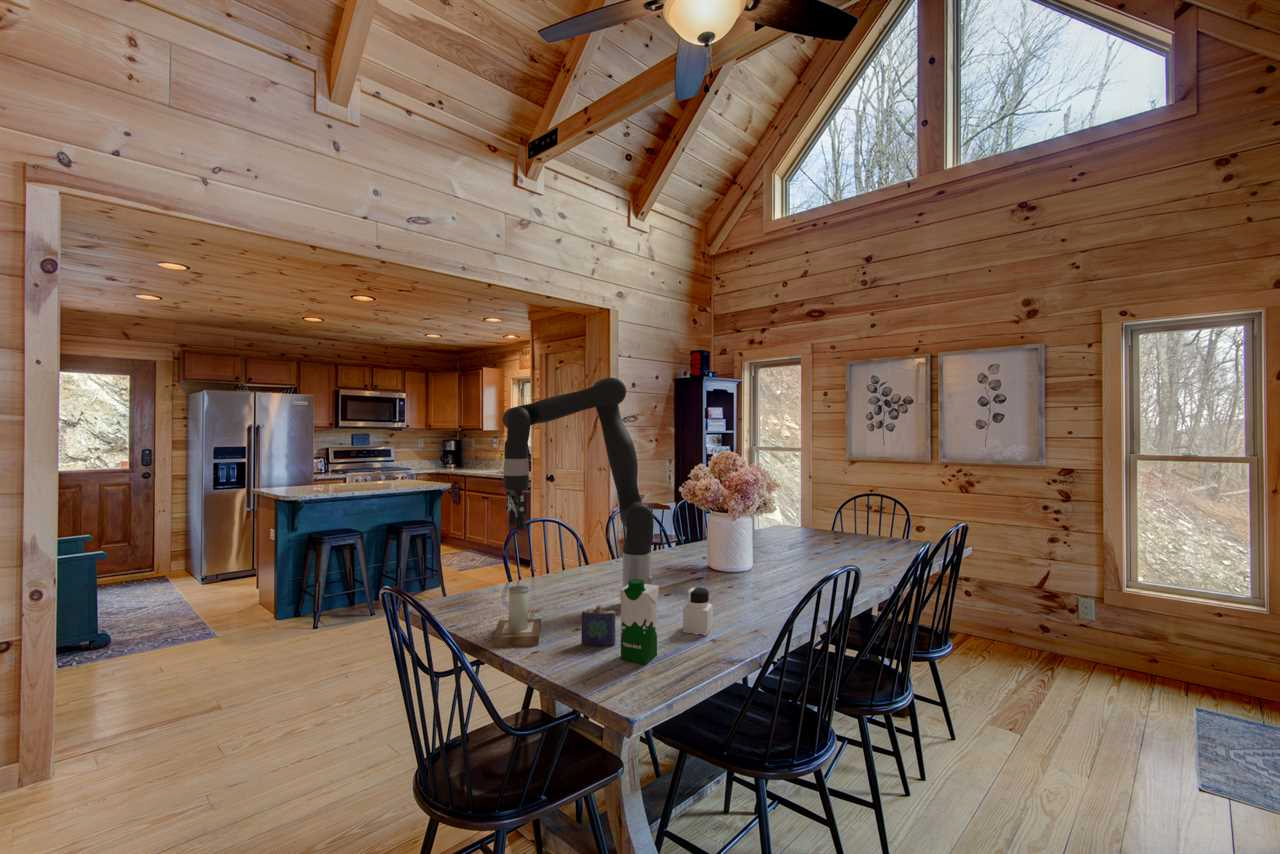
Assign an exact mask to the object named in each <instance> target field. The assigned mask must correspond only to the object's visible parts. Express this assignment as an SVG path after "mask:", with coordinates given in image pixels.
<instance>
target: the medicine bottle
mask: <svg viewBox="0 0 1280 854" xmlns="http://www.w3.org/2000/svg"><path fill="white" fill-rule="evenodd" d="M709 596H710V593H709V590H708V589H706V588H704V587H697V586H696V587H691V588H688V590H687V603H686V605H684V607H683V608H682V609H683V610H682V632H690V633H698V634H706V635H707V634H708V633H709V634H710V632H711V630H712V629H711V628H713V608H714V607H713V604H712V603H710V602H709V600H710V598H709ZM709 631H710V632H709ZM709 634H708V635H709ZM708 635H707V636H708Z"/></svg>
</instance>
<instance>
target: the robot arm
mask: <svg viewBox="0 0 1280 854" xmlns="http://www.w3.org/2000/svg"><path fill="white" fill-rule="evenodd" d="M626 395H627V387H626V385H625V383H624V381H622V380H620V379H619V378H616V377H607V378H606V377H605V378H601V379H599V380H597V381H596V382H595V383H594V384H593V386H590V387H588V388H585V389H582V390H577V391H573V392H568V393H564V394H563V393H562V394H558V395H555V396H554V395H553V396H551V397H547V398H544V399H540V400H538V401H535V402H533V403H527V404H522V405H518V406H515V407H510V408H508V409H507V410H505V412H504V413H503V415H502V419H501V420H502V423H503V425H504V427H505V428H506V429H507V430H506V433H507V435H506V440H505V443H504V447H503V449H504V451H503V453H504V455H503V457H504V461H503V468H502V469H503V477H502V478H503V479H502V480H503V481H502V482H503V483H502V484H503V487H502V488H503V489H504V490H506V503H505V504H506V506H505V509H506V511H507V513H508V525H509V526H515V529H516V530H517V531H521V530H524V529H525V522H524V521H525V520H524V519H525V516H527V495H526V494H524V493H523V491H525V490H528V489H529V487H530V477H529V476H530V465H529V464H530V463H529V438H530V432H531V426H534V425H536V424H544V423H548V422H552V421H555V420H558V419H562V418H565V417H567V416H571V415H574V414H576V413H579V412H582V411H586V410H588V409H589V410H590V409H593V408H595V410H596V412H597V415H598V418H599V421H600V425H601V430H602V436H603V441H604V444H605V450H606V455H607V458H608V463H609V467H610V471H611V475H612V479H613V482H614V485H615V489H616V493H617V498H618V500H617V501H618V509H619V516H620V521H621V523H622V524H623V526H624V527H625V529H626V531H625V541H624V543H623V544H622V588H623V587H625V586H626V585H628V581H629V580H632V579H640V580H643V581H644V584H649V585H653V584H652V583H653V580H652V579H653V578H652V576H651V575H652V573H651V571H652V570H651V568H652V559H651V558H652V553H651V551H652V545H653V542H654V541H653V540H654V513H653V512H652V509H651V508H649V506H647V505H644V504H643V501H642V499H641V495H640V491H639V487H638V470H639V465H638V464H639V463H638V458H637V457H638V456H637V452H636V449H635V444H634V442H633V439H632V437H631V435H630V433H629V432H628V429H627V428H626V426H625V424H624V421H623V419H622V415H621V412H620V407H619V405H620V404H621V403H623V401H624V400H625V398H626Z"/></svg>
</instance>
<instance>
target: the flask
mask: <svg viewBox="0 0 1280 854" xmlns="http://www.w3.org/2000/svg"><path fill="white" fill-rule="evenodd" d="M595 607H596V608H594V609H592V608H587V609H584V610H582V611H581V639H580V640H581V646H583V647H615V645H616V642H617V641H616V615H617V614H616V611H614V610H602V609H601V608H602V604H597V605H596V606H595Z"/></svg>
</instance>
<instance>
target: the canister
mask: <svg viewBox="0 0 1280 854" xmlns="http://www.w3.org/2000/svg"><path fill="white" fill-rule="evenodd" d="M529 591H530V588H529V587H528V586H526V585H514V586H510V587H509V588H508V620H509V623H508V629H509V630H510V631H515V632H518V631H524V630H526V629H527V628H528V619H529Z"/></svg>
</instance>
